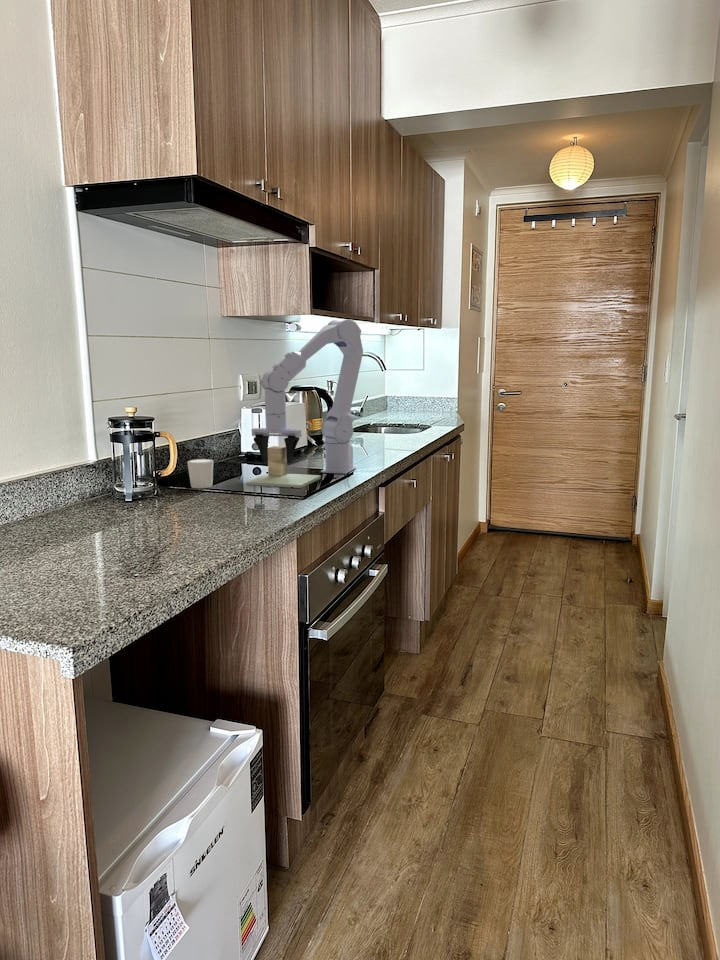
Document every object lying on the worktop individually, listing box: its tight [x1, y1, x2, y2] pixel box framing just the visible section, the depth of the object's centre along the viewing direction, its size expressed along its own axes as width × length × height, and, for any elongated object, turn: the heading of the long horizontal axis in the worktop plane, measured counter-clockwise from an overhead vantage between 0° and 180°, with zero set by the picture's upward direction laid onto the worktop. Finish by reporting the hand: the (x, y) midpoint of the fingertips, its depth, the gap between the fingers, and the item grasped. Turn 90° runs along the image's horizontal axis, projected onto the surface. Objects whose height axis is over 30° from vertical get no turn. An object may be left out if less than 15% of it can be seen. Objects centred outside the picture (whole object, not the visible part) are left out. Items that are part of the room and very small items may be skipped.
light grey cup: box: [187, 458, 214, 489], centre depth 181 cm, size 7×7×7 cm
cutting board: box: [246, 473, 322, 489], centre depth 187 cm, size 14×16×1 cm
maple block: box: [267, 445, 288, 477], centre depth 191 cm, size 4×4×8 cm
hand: (277, 461), depth 191 cm, fingers open, 7 cm apart
